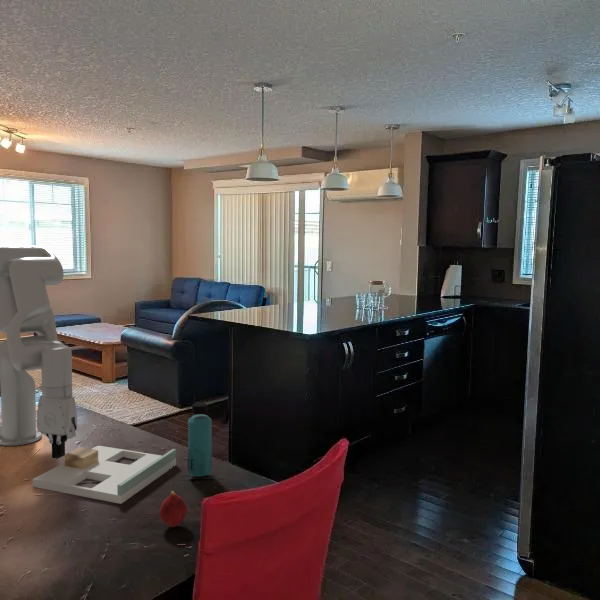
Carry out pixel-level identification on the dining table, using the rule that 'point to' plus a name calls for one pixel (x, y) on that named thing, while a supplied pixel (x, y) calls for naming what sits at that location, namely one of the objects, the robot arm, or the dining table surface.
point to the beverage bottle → (199, 441)
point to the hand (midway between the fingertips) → (58, 456)
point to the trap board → (109, 474)
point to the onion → (173, 510)
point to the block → (81, 458)
